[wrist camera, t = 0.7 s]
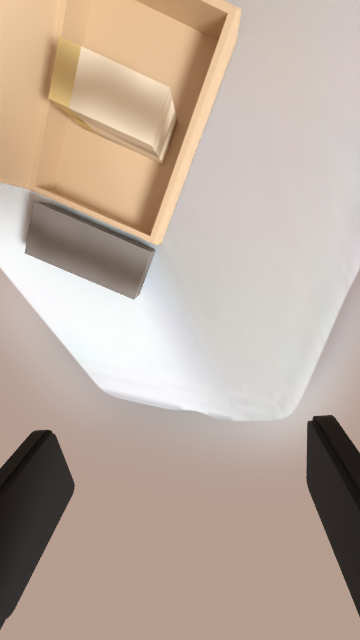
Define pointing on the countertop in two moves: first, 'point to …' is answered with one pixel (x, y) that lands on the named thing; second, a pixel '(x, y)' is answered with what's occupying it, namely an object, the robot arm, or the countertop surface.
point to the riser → (87, 250)
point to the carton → (86, 147)
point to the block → (113, 100)
